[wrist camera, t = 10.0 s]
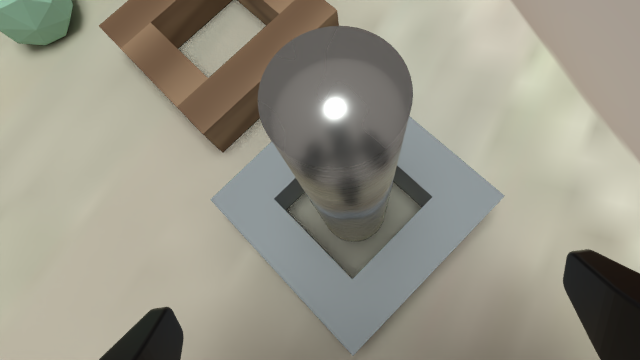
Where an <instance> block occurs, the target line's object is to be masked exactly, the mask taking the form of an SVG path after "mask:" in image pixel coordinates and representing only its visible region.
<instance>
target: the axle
mask: <svg viewBox="0 0 640 360" xmlns="http://www.w3.org/2000/svg"><path fill="white" fill-rule="evenodd" d="M412 98H413V88H412V81H411V76H410V73H409V71H408V68H407V66H406V64H405V62H404V60H403V59H402V57H401V56H400V55H399V53H398V52H397V51H396V50H395V49H394V48H393V47H392V46H391V45H390V44H389V43H388V42H386V41H385V40H384V39H382V38H381V37H379V36H377V35H376V34H373V33H371V32H369V31H366V30H363V29H359V28H355V27H349V26H329V27H323V28H318V29H315V30H311V31H309V32H306V33H304V34H301V35H300V36H298V37H296V38H294V39H293V40H291V41H290V42H288V43H287V44H286V45H284V46H283V47H282V48H281V49H280V50H279V51H278V52H277V53H276V54H275V56H274V57H273V58H272V59H271V61H270V62H269V64H268V65H267V67H266V69H265V71H264V73H263V75H262V78H261V81H260V85H259V90H258V111H259V115H260V119H261V122H262V125H263V127H264V129H265V131H266V133H267V134H268V136H269V138H270V139H271V141H272V142H273V144H274V145H275V147H276V148H277V150H278V151H279V153H280V154H281V156H282V158H283V159H284V161H285V162H286V164H287V165H288V167H289V168H290V170H291V171H292V173H293V174H294V176H295V177H296V179H297V180H298V182H299V184H300V185H301V187H302V188H303V190H304V191H305V193H306V194H307V196H308V197H309V199H310V200H311V202H312V203H313V205H314V206H315V208H316V209H317V211H318V213H319V214H320V216H321V217H322V219H323V220H324V222H325V223H326V225H327V226H328V228H329V229H330V230H331V231H332V232H333V233H334V234H335V235H336V236H338V237H339V238H341V239H344V240H347V241H361V240H364V239H367V238H369V237H371V236H372V235H373V234H375V233H376V232H377V231H378V229H379V228H380V226H381V225H382V222H383V220H384V216H385V212H386V208H387V204H388V200H389V196H390V192H391V187H392V183H393V179H394V175H395V171H396V167H397V163H398V159H399V155H400V151H401V147H402V143H403V139H404V135H405V131H406V127H407V123H408V119H409V115H410V110H411V106H412Z"/></svg>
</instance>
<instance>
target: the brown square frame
mask: <svg viewBox="0 0 640 360" xmlns="http://www.w3.org/2000/svg"><path fill="white" fill-rule="evenodd" d="M231 1H232V0H128V1H127V2H126V3H125V4H124V5H122V6H121V7H120V8H119V9H118V10H117V11H115V12H114V13H113V14H112V15H111V16H110V17H108V18H107V19H106V20H105V21H104V22H103V23H101V24H100V25H99V27H100V28H101V29H102V30H103V31H104V32H105V33H106V34H107V35H108V36H109V37H110V38H111V39H112V40H113V41H114V42H115V43H116V44H117V45H118V46H119V47H120V48H121V50H122V51H123V52H124V53H125V54H126V55H127V56H128V57H129V58H130V59H131V60H132V61H133V62H134V63H135V64H136V65H137V66H138V67H139V68H140V69H141V70H142V71H143V72H144V73H145V74H146V75H147V77H148V78H149V79H150V80H151V81H152V82H153V83H154V84H155V85H156V86H157V87H158V88H159V89H160V90H161V91H162V92H163V93H164V94H165V95H166V96H167V97H168V98H169V99H170V100H171V101H172V102H173V103H174V105H175V106H176V107H177V108H178V109H179V110H180V111H181V112H182V113H183V114H184V115H185V116H186V117H187V118H188V119H189V120H190V121H191V122H192V123H193V124H194V125H195V126H196V127H197V128H198V129H199V130H200V131H201V133H202V134H203V135H205V136H206V137H207V138H208V139H209V140H210V141H211V142H212V143H213V144H214V145H215V146H216V147H217V148H218V149H220V150H221V151H222V152H224V151H225V150H226V149H227V148H228V147H229V146H230V145H231V144H232V143H233V142H234V141H235V140H237V139H238V138H239V137H240V136H241V135H242V134H243V133H244V132H245V131H246V130H247V129H248V128H249V127H250V126H252V125H253V124H254V123H255V122H256V121H257V120H258V119H259V118H260V115H259V111H258V90H259V85H260V81H261V78H262V75H263V73H264V71H265V69H266V67H267V65H268V64H269V62H270V61H271V59H272V58H273V57H274V56H275V54H276V53H277V52H278V51H279V50H280V49H281V48H282V47H283V46H284V45H286V44H287V43H288V42H290V41H291V40H293V39H294V38H296V37H298V36H300V35H301V34H304V33H306V32H309V31H311V30H315V29H318V28H323V27H329V26H339V23H338V14H337V10H336V9H335V8H334V7H332V6H331V5H330V4H329V3H327V2H326V1H325V0H238V1H239V2H240V3H241V4H242V5H244V6H245V7H246V8H247V9H248V10H249V11H250V12H252V13H253V14H254V15H255V16H256V17H257V18H259V19H260V20H261V21H262V22H263V23H264V24H266V25H267V26H266V27H264V28H263V29H262V30H261V31H260V32H259V33H258V34H257V35H256V36H254V37H253V38H252V39H251V40H250V41H249V42H248V43H247V44H246V45H245V46H243V47H242V48H241V49H240V50H239V51H238V52H237V53H236V54H235V55H234V56H232V57H231V58H230V59H229V60H228V61H227V62H226V63H225V64H224V65H222V66H221V67H220V68H219V69H218V70H217V71H216V72H215V73H214V74H213V75H211V76H210V77H209V78H207V77H206V76H205V75H204V74H203V73H202V72H201V71H200V70H199V69H198V68H197V67H196V66H195V65H194V64H193V63H192V62H191V61H190V60H189V59H188V58H187V57H186V56H185V55H184V54H183V53H181V52H180V51H179V50H178V48H179V47H180V46H181V45H182V44H183V43H185V42H186V41H187V40H188V39H189V38H190V37H191V36H192V35H194V34H195V33H196V32H197V31H198V30H199V29H200V28H201V27H203V26H204V25H205V24H206V23H207V22H208V21H209V20H211V19H212V18H213V17H214V16H215V15H216V14H217V13H218V12H220V11H221V10H222V9H223V8H224V7H225V6H226V5H227V4H229V3H230V2H231Z"/></svg>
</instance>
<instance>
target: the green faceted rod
mask: <svg viewBox="0 0 640 360" xmlns="http://www.w3.org/2000/svg"><path fill="white" fill-rule="evenodd" d="M72 8H73V4H72V1H71V0H0V31H1V32H2V33H4V34H5V35H7V36H8V37H10V38H11V39H13V40H14V41H15V42H17V43H22V44H35V45H47V44H49V43H52V42H54V41H56V40H58V39H60V38H62V37H64V36H66V34H67V31H68V28H69V24H70V19H71V13H72Z"/></svg>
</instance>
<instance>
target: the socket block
mask: <svg viewBox="0 0 640 360" xmlns="http://www.w3.org/2000/svg"><path fill="white" fill-rule="evenodd" d="M393 181H394V182H395V183H396V184H397V185H398V186H399V187H401V188H402V189H403V190H404V191H405V192H406V193H407V194H408V195H409V196H410V197H412V198H413V199H414V200H415V201H416V202H417V203H418V204H419V205H420V206H422V208H421V209H420V210H419V211H418V212H417V213H416V214H415V215H414V216H413V217H412V218H411V219H410V221H409V222H408V223H407V224H406V225H405V226H404V227H403V228H402V229H401V230H400V231H399V232H398V233H397V234H396V235H395V236H394V237H393V238H392V239H391V240H390V241H389V242H388V243H387V244H386V245H385V246H384V247H383V248H382V249H381V250H380V251H379V252H378V253H377V254H376V255H375V256H374V257H373V258H372V260H371V261H370V262H369V263H368V264H367V265H366V266H365V267H364V268H363V269H362V270H361V271H360V272H359V273H358V274H357V275H356V276H355V277H354V278H353V279H352V278H351V277H350V276H349V275H348V273H347V272H346V271H345V270H344V269H343V268H342V267H341V266H340V265H339V264H338V263H337V262H336V261H335V260H334V259H333V258H332V257H331V256H330V255H329V254H328V253H327V252H326V251H325V250H324V249H323V248H322V247H321V246H320V245H319V244H318V243H317V242H316V241H315V240H314V239H313V237H312V236H311V235H310V234H309V233H308V232H307V231H306V230H305V229H304V228H303V227H302V226H301V225H300V224H299V223H298V222H297V221H296V220H295V219H294V218H293V217H292V216H291V215H290V214H289V213H288V212H287V211H286V209H287V208H288V207H289V206H290V205H291V204H292V203H293V202H294V201H296V200H297V199H298V198H299V197H300V196H301V195H302V194H303V193H304V192H305V191H304V190H303V188H302V187H301V185H300V184H299V182H298V180H297V179H296V177H295V176H294V174H293V173H292V171H291V170H290V168H289V167H288V165H287V164H286V162H285V161H284V159H283V158H282V156H281V154H280V153H279V151H278V150H277V148H276V147H275V145H274V144H273V142H271V143H270V144H268V145H267V146H266V147H265V148H264V149H263V150H262V151H261V152H260V153H259V154H258V155H257V156H256V157H255V158H254V159H253V160H252V161H251V162H250V163H248V164H247V165H246V166H245V167H244V168H243V169H242V170H241V171H240V172H239V173H238V174H237V175H236V176H235V177H234V178H233V179H232V180H231V181H229V182H228V183H227V184H226V185H225V186H224V187H223V188H222V189H221V190H220V191H219V192H218V193H217V194H216V195H215V196H214V197H213V198H212V199H211V201H212V202H213V203H214V204H215V205H216V206H217V207H218V208H219V210H220V211H221V212H222V213H223V214H224V215H225V216H226V217H227V218H228V219H229V221H230V222H231V223H232V224H233V225H234V226H235V227H236V228H237V229H238V230H239V232H240V233H241V234H242V235H243V236H244V237H245V238H246V239H247V240H248V241H249V243H250V244H251V245H252V246H253V247H254V248H255V249H256V250H257V251H258V252H259V254H260V255H261V256H262V257H263V258H264V259H265V260H266V261H267V262H268V263H269V264H270V266H271V267H272V268H273V269H274V270H275V271H276V272H277V273H278V274H279V275H280V277H281V278H282V279H283V280H284V281H285V282H286V283H287V284H288V285H289V286H290V288H291V289H292V290H293V291H294V292H295V293H296V294H297V295H298V296H299V297H300V299H301V300H302V301H303V302H304V303H305V304H306V305H307V306H308V307H309V308H310V310H311V311H312V312H313V313H314V314H315V315H316V316H317V317H318V318H319V319H320V320H321V322H322V323H323V324H324V325H325V326H326V327H327V328H328V329H329V330H330V331H331V333H332V334H333V335H334V336H335V337H336V338H337V339H338V340H339V341H340V342H341V344H342V345H343V346H344V347H345V348H346V349H347V350H348V351H349V352H350V353H351V355H352V356H353V355H354V354H355V353H356V352H357V351H358V350H359V349H360V348H361V347H362V346H363V345H364V344H365V343H366V342H367V341H368V339H369V338H370V337H371V336H372V335H373V334H374V333H375V332H376V331H377V330H378V329H379V328H380V327H381V326H382V325H383V324H384V323H385V322H386V320H387V319H388V318H389V317H390V316H391V315H392V314H393V313H394V312H395V311H396V310H397V309H398V308H399V307H400V306H401V305H402V304H403V303H404V302H405V300H406V299H407V298H408V297H409V296H410V295H411V294H412V293H413V292H414V291H415V290H416V289H417V288H418V287H419V286H420V285H421V284H422V283H423V281H424V280H425V279H426V278H427V277H428V276H429V275H430V274H431V273H432V272H433V271H434V270H435V269H436V268H437V267H438V266H439V265H440V264H441V263H442V261H443V260H444V259H445V258H446V257H447V256H448V255H449V254H450V253H451V252H452V251H453V250H454V249H455V248H456V247H457V246H458V245H459V244H460V242H461V241H462V240H463V239H464V238H465V237H466V236H467V235H468V234H469V233H470V232H471V231H472V230H473V229H474V228H475V227H476V226H477V225H478V224H479V222H480V221H481V220H482V219H483V218H484V217H485V216H486V215H487V214H488V213H489V212H490V211H491V210H492V209H493V208H494V207H495V206H496V205H497V203H498V202H499V201H500V200H501V199H502V198H503V197H504V195H503V194H502V193H501V192H499V191H498V190H497V189H496V188H495V187H493V186H492V185H491V184H490V183H489V182H487V181H486V180H485V179H484V178H483V177H482V176H480V175H479V174H478V173H477V172H476V171H474V170H473V169H472V168H471V167H470V166H468V165H467V164H466V163H465V162H464V161H462V160H461V159H460V158H459V157H458V156H456V155H455V154H454V153H453V152H452V151H450V150H449V149H448V148H447V147H446V146H444V145H443V144H442V143H441V142H440V141H438V140H437V139H436V138H435V137H434V136H432V135H431V134H430V133H429V132H428V131H427V130H425V129H424V128H423V127H422V126H421V125H419V124H418V123H417V122H416V121H415V120H413V119H412V118H411V117H410V116H409V119H408V123H407V127H406V131H405V135H404V139H403V143H402V147H401V151H400V155H399V159H398V163H397V167H396V171H395V175H394V179H393Z"/></svg>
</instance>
